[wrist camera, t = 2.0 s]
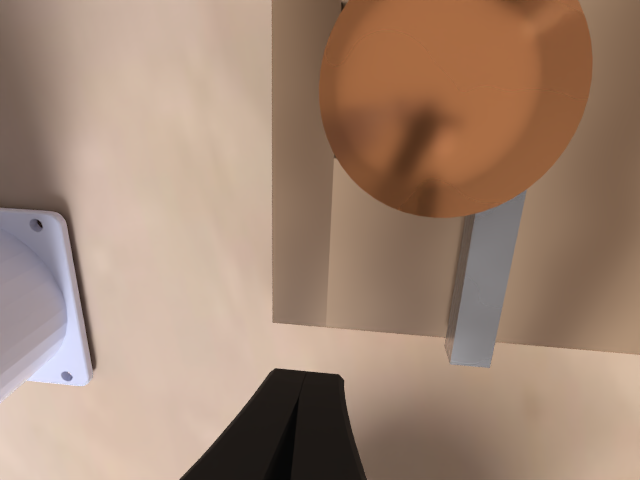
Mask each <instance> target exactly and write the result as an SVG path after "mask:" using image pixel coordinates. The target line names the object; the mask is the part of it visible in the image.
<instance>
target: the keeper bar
mask: <svg viewBox="0 0 640 480" xmlns="http://www.w3.org/2000/svg"><path fill="white" fill-rule="evenodd" d="M526 192H527V189H526V190H525V191H523V192H522V193H520V194H519V195H517V196H516V197H514V198H513V199H511V200H509V201H507V202H505V203H503V204H501V205H499V206H496V207H494V208H491V209H488V210H486V211H483V212H479V213H475V214H471V215H467V216H465V222H464V228H463V234H462V241H461V247H460V253H459V259H458V265H457V272H456V278H455V284H454V290H453V297H452V303H451V309H450V315H449V321H448V328H447V334H446V340H445V349H446V352H447V356H448V359H449V363H450V364H453V365H464V366H475V367H485V368H490V364H491V360H492V355H493V350H494V345H495V340H496V336H497V331H498V326H499V321H500V316H501V312H502V307H503V302H504V297H505V292H506V288H507V283H508V278H509V273H510V268H511V264H512V259H513V254H514V249H515V244H516V240H517V235H518V230H519V225H520V220H521V216H522V211H523V206H524V201H525V196H526Z"/></svg>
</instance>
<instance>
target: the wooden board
mask: <svg viewBox="0 0 640 480" xmlns="http://www.w3.org/2000/svg"><path fill="white" fill-rule="evenodd" d="M348 1H349V0H272V275H273V323H283V324H295V325H306V326H317V327H329V328H340V329H352V330H363V331H375V332H386V333H397V334H409V335H420V336H432V337H443V338H446V334H447V328H448V321H449V315H450V309H451V303H452V297H453V290H454V284H455V278H456V272H457V265H458V259H459V253H460V247H461V241H462V234H463V228H464V222H465V216H460V217H452V218H431V217H423V216H417V215H413V214H409V213H405V212H402V211H399V210H397V209H394V208H392V207H389V206H387V205H385V204H383V203H382V202H380V201H378V200H376V199H375V198H373V197H372V196H371V195H369V194H368V193H367V192H365V191H364V190H362V189H361V188H360V187H359V186H358V185H357V184H356V183H355V182H354V181H353V180H352V179H351V178H350V176H349V175H348V174H347V173H346V171H345V170H344V169H343V168H342V166H341V165H340V163H339V161H338V160H337V158H336V156H335V155H334V153H333V151H332V149H331V146H330V144H329V142H328V139H327V137H326V133H325V130H324V126H323V123H322V118H321V111H320V105H319V80H320V69H321V64H322V59H323V55H324V50H325V47H326V45H327V42H328V39H329V36H330V33H331V31H332V29H333V27H334V25H335V23H336V21H337V19H338V17H339V15H340V13H341V11H342V10H343V8H344V7H345V5H346V4H347V2H348ZM578 1H579V3H580V5H581V8H582V10H583V13H584V15H585V18H586V20H587V24H588V29H589V33H590V37H591V45H592V56H593V65H592V80H591V86H590V92H589V97H588V101H587V104H586V107H585V110H584V114H583V116H582V119H581V121H580V123H579V125H578V128H577V130H576V132H575V134H574V136H573V137H572V139H571V141H570V142H569V144H568V146H567V147H566V149H565V150H564V152H563V153H562V154H561V156H560V157H559V158H558V160H557V161H556V162H555V164H554V165H553V166H552V167H551V168H550V169H549V170H548V171H547V172H546V173H545V174H544V175H543V176H542V177H541V178H540V179H539V180H537V181H536V182H535V183H534V184H533V185H531V186H530V187H529V188H528V189H527V192H526V196H525V201H524V206H523V211H522V216H521V220H520V225H519V230H518V235H517V240H516V244H515V249H514V254H513V259H512V264H511V268H510V273H509V278H508V283H507V288H506V292H505V297H504V302H503V307H502V312H501V316H500V321H499V326H498V331H497V336H496V340H495V342H500V343H512V344H523V345H535V346H546V347H557V348H569V349H580V350H592V351H603V352H615V353H626V354H637V355H640V0H578Z"/></svg>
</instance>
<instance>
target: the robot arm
mask: <svg viewBox="0 0 640 480" xmlns="http://www.w3.org/2000/svg"><path fill="white" fill-rule="evenodd" d="M37 220H39V221H40V222H41V223H42V226H43V228H41V227H40V226H39V225H38V223H37ZM68 372H69V373H70V374H71V375H70V374H69V373H68ZM92 378H93V370H92V364H91V358H90V353H89V347H88V342H87V336H86V330H85V325H84V319H83V313H82V308H81V302H80V297H79V291H78V285H77V280H76V274H75V268H74V263H73V257H72V252H71V246H70V240H69V235H68V229H67V224H66V221H65V219H64V218H63V217H62V215H60V214H59V213H57V212H53V211H42V210H27V209H13V208H0V403H1V402H2V401H3V400H5V399H6V398H7V397H8V396H9V395H10V394H11V393H13V392H14V391H15V390H16V389H17V388H18V387H19V386H21V385H22V384H23V383H24V382H25V381H26V380H27V381H36V382H46V383H56V384H65V385H75V386H85V385H86V384H88V383H89V382H90V381H91V379H92ZM180 480H367V479H366V476H365V472H364V469H363V466H362V463H361V460H360V456H359V453H358V450H357V447H356V444H355V440H354V436H353V433H352V429H351V425H350V420H349V416H348V412H347V406H346V400H345V392H344V380H343V379H342V377H341V376H340V375H339V374H328V373H318V372H308V371H307V373H306V371H297V370H287V369H277V368H275V369H274V370H273V371H271V372H270V373H269V374H268V376H267V377H266V379H265V380H264V381H263V383H262V384H261V385H260V387H259V388H258V390H257V391H256V392H255V394H254V395H253V396H252V397H251V399H250V400H249V401H248V403H247V404H246V405H245V406H244V408H243V409H242V410H241V411H240V412H239V414H238V415H237V416H236V417H235V419H234V420H233V421H232V422H231V423H230V424H229V426H228V427H227V428H226V429H225V430H224V431H223V433H222V434H221V435H220V436H219V437H218V438H217V440H216V441H215V442H214V443H213V444H212V445H211V447H210V448H209V449H208V450H207V451H206V452H205V453H204V454H203V455H202V457H201V458H200V459H199V460H198V461H197V462H196V463H195V464H194V465H193V466H192V467H191V468H190V469H189V470H188V471H187V472H186V473H185V474H184V475H183V476H182V477H181V478H180Z"/></svg>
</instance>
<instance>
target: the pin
mask: <svg viewBox="0 0 640 480" xmlns="http://www.w3.org/2000/svg"><path fill="white" fill-rule="evenodd" d="M592 65H593V56H592V45H591V37H590V33H589V29H588V24H587V20H586V18H585V15H584V13H583V10H582V8H581V5H580V3H579V1H578V0H349V1H348V2H347V4H346V5H345V7H344V8H343V10H342V11H341V13H340V15H339V17H338V19H337V21H336V23H335V25H334V27H333V29H332V31H331V33H330V36H329V39H328V42H327V45H326V47H325V50H324V55H323V59H322V64H321V69H320V80H319V105H320V111H321V118H322V123H323V126H324V130H325V133H326V137H327V139H328V142H329V144H330V146H331V149H332V151H333V153H334V155H335V156H336V158H337V160H338V161H339V163H340V165H341V166H342V168H343V169H344V170H345V171H346V173H347V174H348V175H349V176H350V178H351V179H352V180H353V181H354V182H355V183H356V184H357V185H358V186H359V187H360V188H361V189H362V190H364V191H365V192H367V193H368V194H369V195H371V196H372V197H373V198H375V199H376V200H378V201H380V202H382V203H383V204H385V205H387V206H389V207H392V208H394V209H397V210H399V211H402V212H405V213H409V214H413V215H417V216H423V217H431V218H452V217H460V216H467V215H471V214H475V213H479V212H483V211H486V210H488V209H491V208H494V207H496V206H499V205H501V204H503V203H505V202H507V201H509V200H511V199H513V198H514V197H516V196H517V195H519V194H520V193H522V192H523V191H525V190H526V189H528V188H529V187H530V186H531V185H533V184H534V183H535V182H536V181H537V180H539V179H540V178H541V177H542V176H543V175H544V174H545V173H546V172H547V171H548V170H549V169H550V168H551V167H552V166H553V165H554V164H555V162H556V161H557V160H558V158H559V157H560V156H561V154H562V153H563V152H564V150H565V149H566V147H567V146H568V144H569V142H570V141H571V139H572V137H573V136H574V134H575V132H576V130H577V128H578V125H579V123H580V121H581V119H582V116H583V114H584V110H585V107H586V104H587V101H588V97H589V92H590V86H591V80H592Z"/></svg>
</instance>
